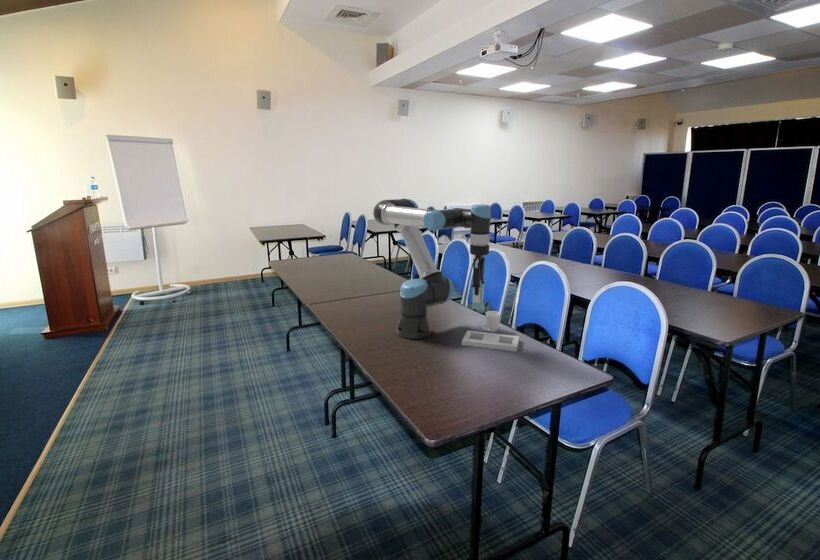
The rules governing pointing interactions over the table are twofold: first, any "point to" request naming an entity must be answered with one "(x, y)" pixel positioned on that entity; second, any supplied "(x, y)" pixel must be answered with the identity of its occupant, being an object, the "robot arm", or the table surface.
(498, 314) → the cup
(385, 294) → the table surface
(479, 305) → the plug
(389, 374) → the table surface
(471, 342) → the panel
